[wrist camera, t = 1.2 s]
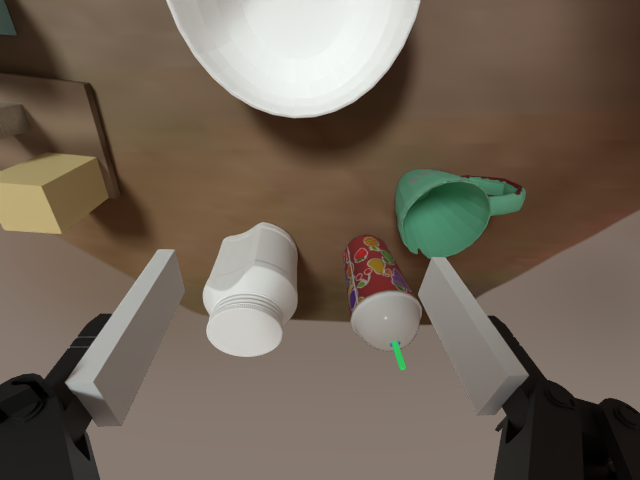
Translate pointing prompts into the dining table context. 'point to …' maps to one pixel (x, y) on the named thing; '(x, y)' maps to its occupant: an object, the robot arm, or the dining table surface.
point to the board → (55, 123)
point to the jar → (252, 291)
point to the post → (13, 120)
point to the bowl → (295, 48)
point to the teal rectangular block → (5, 21)
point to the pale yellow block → (50, 192)
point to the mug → (450, 209)
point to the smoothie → (380, 297)
